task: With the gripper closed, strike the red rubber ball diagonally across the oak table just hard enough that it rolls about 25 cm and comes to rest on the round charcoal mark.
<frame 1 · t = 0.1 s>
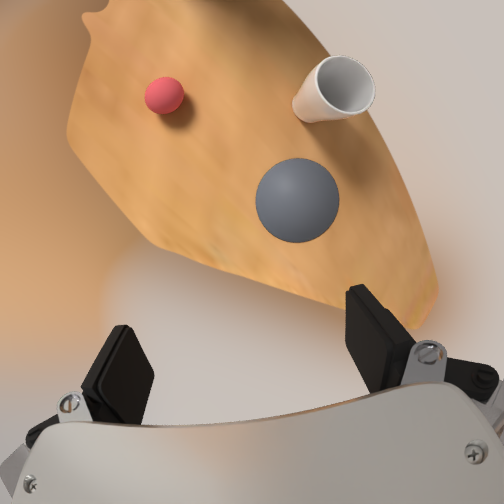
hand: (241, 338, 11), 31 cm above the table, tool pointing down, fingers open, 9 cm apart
ball: (164, 95, 31), on the table
drinking glass: (308, 106, 36), on the table
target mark: (298, 201, 40), on the table
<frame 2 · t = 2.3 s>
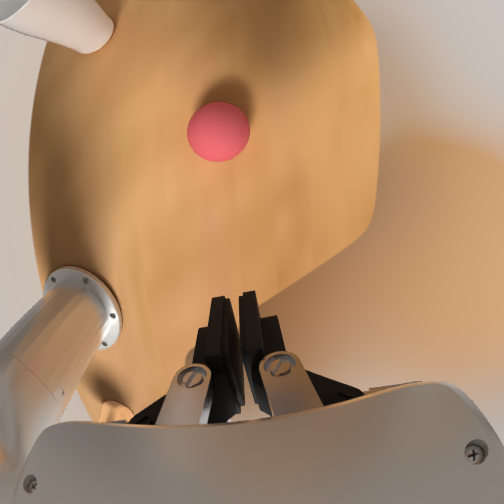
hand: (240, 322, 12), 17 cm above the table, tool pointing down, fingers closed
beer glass: (118, 409, 38), on the table
ball: (218, 131, 22), on the table
drinking glass: (96, 36, 19), on the table
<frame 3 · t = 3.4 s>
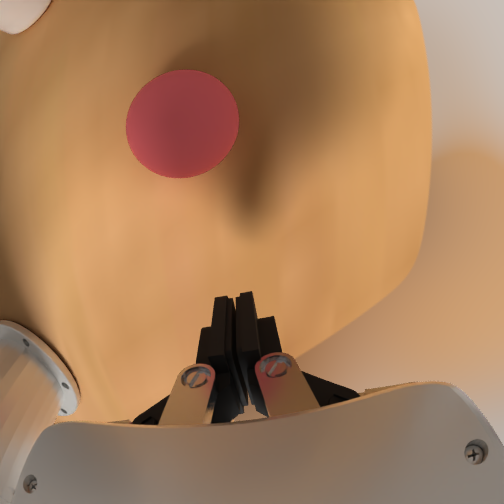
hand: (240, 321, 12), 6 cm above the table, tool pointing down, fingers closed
ball: (182, 123, 12), on the table
drinking glass: (33, 10, 9), on the table
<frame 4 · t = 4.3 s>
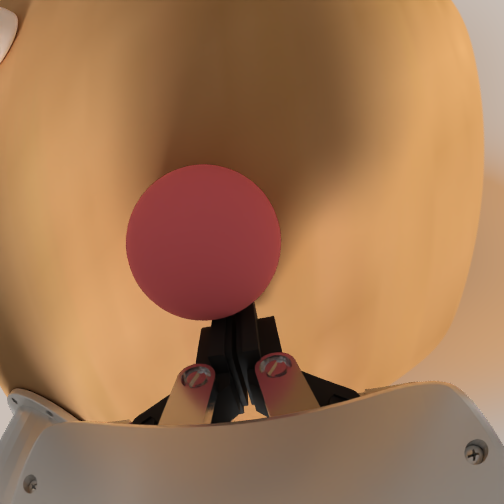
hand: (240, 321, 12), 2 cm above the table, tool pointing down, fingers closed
ball: (203, 242, 10), on the table, touching gripper
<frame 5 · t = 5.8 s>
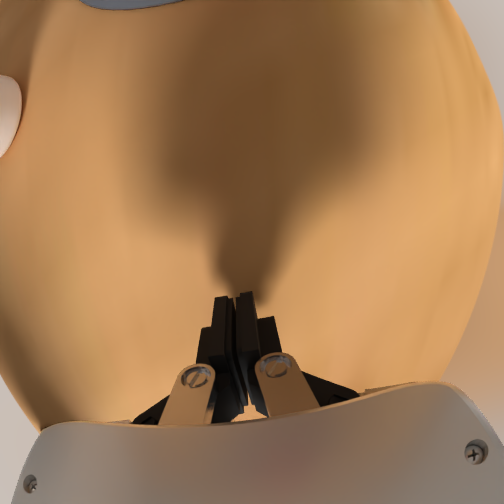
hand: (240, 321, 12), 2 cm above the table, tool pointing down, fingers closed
drinking glass: (1, 119, 9), on the table
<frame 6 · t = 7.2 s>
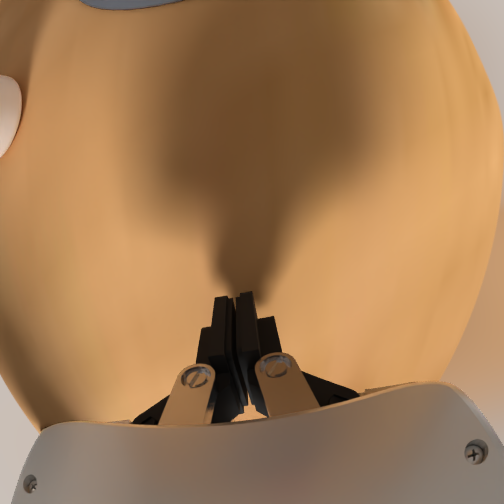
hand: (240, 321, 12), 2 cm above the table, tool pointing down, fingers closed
drinking glass: (1, 119, 9), on the table
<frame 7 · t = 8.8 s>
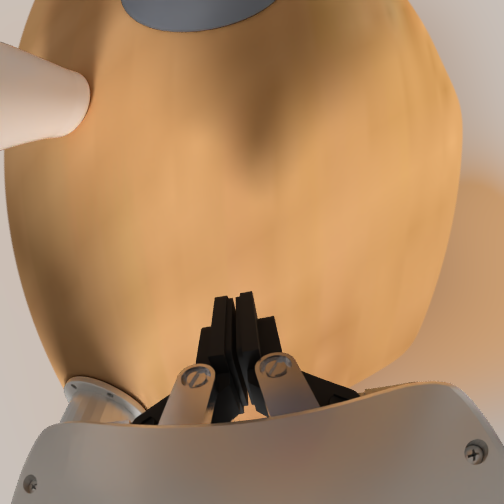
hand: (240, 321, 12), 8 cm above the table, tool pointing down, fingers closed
drinking glass: (68, 104, 15), on the table
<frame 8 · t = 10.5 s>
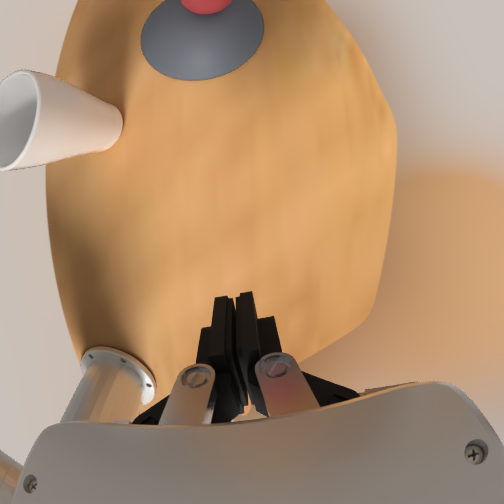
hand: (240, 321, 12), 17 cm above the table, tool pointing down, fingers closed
drinking glass: (104, 127, 24), on the table
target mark: (200, 28, 20), on the table
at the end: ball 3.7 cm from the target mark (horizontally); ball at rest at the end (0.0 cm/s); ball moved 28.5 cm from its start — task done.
